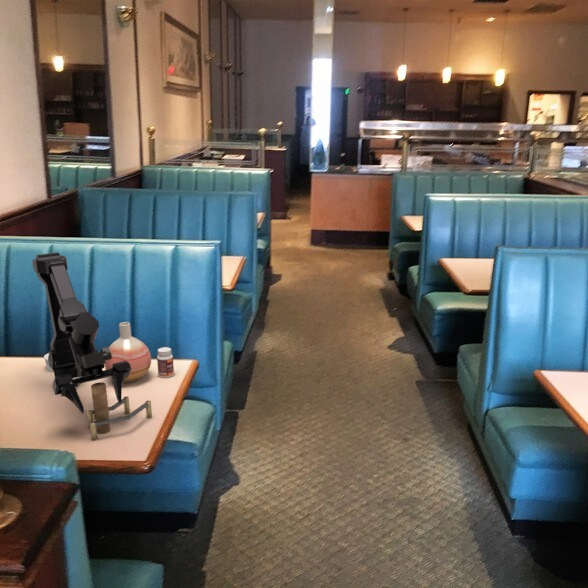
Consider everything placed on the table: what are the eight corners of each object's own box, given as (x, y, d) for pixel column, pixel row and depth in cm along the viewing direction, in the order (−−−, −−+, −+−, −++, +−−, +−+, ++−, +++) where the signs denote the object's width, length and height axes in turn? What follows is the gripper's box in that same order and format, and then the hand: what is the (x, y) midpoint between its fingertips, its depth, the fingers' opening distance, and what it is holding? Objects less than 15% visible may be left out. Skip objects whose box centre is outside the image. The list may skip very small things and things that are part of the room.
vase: (158, 370, 195) (154, 316, 190) (144, 388, 182) (139, 331, 177) (115, 369, 196) (110, 315, 191) (99, 387, 183) (92, 330, 178)
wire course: (78, 440, 154) (76, 423, 152) (101, 410, 169) (99, 395, 167) (137, 441, 153) (135, 425, 151) (155, 411, 168) (153, 396, 166)
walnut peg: (94, 433, 156) (88, 388, 153) (99, 427, 160) (94, 382, 156) (107, 434, 156) (102, 388, 153) (112, 427, 160) (107, 382, 156)
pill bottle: (170, 378, 188) (168, 352, 186) (155, 377, 189) (153, 351, 187) (176, 372, 193) (174, 347, 191) (162, 371, 194) (160, 346, 191)
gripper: (49, 346, 150) (66, 405, 144) (125, 331, 160) (144, 385, 154) (46, 366, 158) (62, 422, 153) (118, 350, 168) (136, 403, 162)
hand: (102, 407), depth 155 cm, fingers open, 9 cm apart
